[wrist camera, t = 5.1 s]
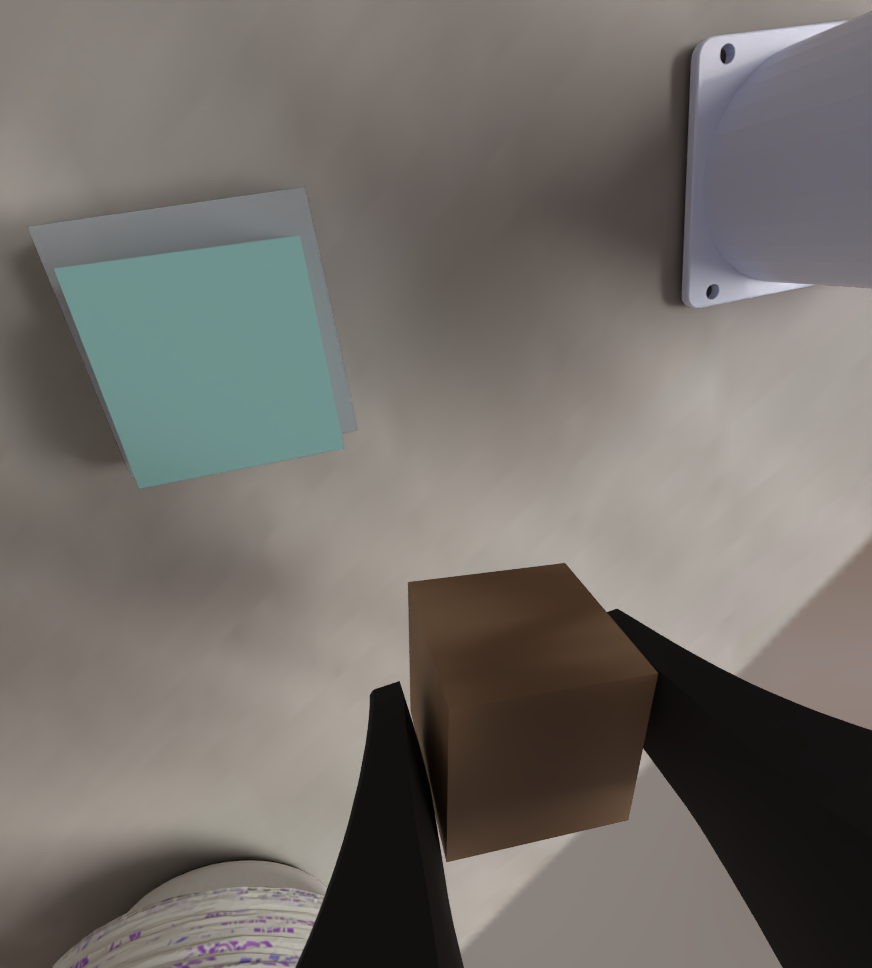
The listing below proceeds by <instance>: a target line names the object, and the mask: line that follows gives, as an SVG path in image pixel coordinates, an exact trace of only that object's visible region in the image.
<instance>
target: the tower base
mask: <svg viewBox="0 0 872 968" xmlns="http://www.w3.org/2000/svg"><path fill="white" fill-rule="evenodd" d="M27 228H28V230H29V232H30V235H31V237H32V240H33V242H34V245H35V247H36V249H37V252H38V254H39V257H40V259H41V261H42V264H43V266H44V269H45V271H46V273H47V276H48V278H49V281H50V283H51V285H52V288H53V290H54V293H55V295H56V298H57V300H58V302H59V305H60V307H61V310H62V312H63V314H64V317H65V319H66V322H67V324H68V326H69V329H70V331H71V334H72V336H73V339H74V341H75V343H76V346H77V348H78V351H79V353H80V355H81V358H82V360H83V363H84V365H85V367H86V370H87V372H88V375H89V377H90V380H91V382H92V384H93V387H94V389H95V392H96V394H97V396H98V399H99V401H100V404H101V406H102V408H103V411H104V413H105V416H106V418H107V421H108V423H109V425H110V428H111V430H112V433H113V435H114V437H115V440H116V442H117V445H118V447H119V449H120V452H121V454H122V457H123V459H124V462H125V464H126V466H127V469H128V471H129V474H130V476H131V478H135V477H134V474H133V472H132V469H131V466H130V464H129V461H128V459H127V456H126V453H125V451H124V448H123V446H122V443H121V441H120V438H119V435H118V433H117V430H116V428H115V425H114V423H113V420H112V417H111V415H110V412H109V410H108V407H107V405H106V402H105V399H104V397H103V394H102V392H101V389H100V387H99V384H98V381H97V379H96V376H95V374H94V371H93V368H92V366H91V363H90V361H89V358H88V356H87V353H86V350H85V348H84V345H83V343H82V340H81V338H80V335H79V332H78V330H77V327H76V325H75V322H74V320H73V317H72V314H71V312H70V309H69V307H68V304H67V301H66V299H65V296H64V294H63V291H62V289H61V286H60V283H59V281H58V278H57V276H56V273H55V271H54V269H55V268H62V267H69V266H77V265H84V264H92V263H99V262H107V261H114V260H122V259H129V258H136V257H144V256H151V255H159V254H166V253H174V252H181V251H189V250H196V249H203V248H211V247H218V246H226V245H233V244H241V243H248V242H256V241H263V240H270V239H278V238H285V237H293V236H300V238H301V243H302V248H303V253H304V258H305V262H306V267H307V272H308V277H309V281H310V286H311V291H312V296H313V300H314V305H315V310H316V315H317V319H318V324H319V329H320V334H321V339H322V343H323V348H324V353H325V358H326V362H327V367H328V372H329V377H330V381H331V386H332V391H333V396H334V401H335V405H336V410H337V415H338V420H339V424H340V429H341V434H342V433H347V432H352V431H357V430H358V428H357V424H356V419H355V414H354V410H353V405H352V401H351V396H350V391H349V387H348V382H347V378H346V373H345V368H344V364H343V359H342V355H341V350H340V345H339V341H338V336H337V332H336V327H335V323H334V318H333V313H332V309H331V304H330V300H329V295H328V290H327V286H326V281H325V277H324V272H323V267H322V263H321V258H320V254H319V249H318V244H317V240H316V235H315V231H314V226H313V221H312V217H311V212H310V208H309V203H308V198H307V194H306V189H305V187H300V188H293V189H286V190H280V191H273V192H266V193H259V194H252V195H245V196H238V197H231V198H224V199H217V200H210V201H203V202H196V203H189V204H182V205H175V206H168V207H161V208H154V209H147V210H140V211H133V212H126V213H119V214H112V215H105V216H98V217H91V218H84V219H77V220H70V221H63V222H56V223H49V224H42V225H36V226H29V227H27Z"/></svg>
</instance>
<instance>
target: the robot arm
mask: <svg viewBox="0 0 872 968" xmlns="http://www.w3.org/2000/svg"><path fill="white" fill-rule="evenodd" d="M722 48H723V49H724V50H725V52H726V60H725V63H724V64H723V63H722V61H721V60H720V52H721V49H722ZM710 285H711V287H712V291H711V294H710V295H709V297H707V295H706V291H707V289H708V287H709V286H710ZM814 285H828V286H844V287H860V288H872V11H871V12H868V13H866V14H864V15H861V16H859V17H856V18H854V19H852V20H843V21H835V22H826V23H818V24H809V25H801V26H792V27H784V28H775V29H767V30H758V31H750V32H742V33H733V34H725V35H716V36H711V37H709V38H707V39H705V40H703V41H701V42H700V43H699V44H698V45H697V46H696V47H695V49H694V51H693V53H692V59H691V76H690V101H689V126H688V151H687V176H686V201H685V226H684V251H683V276H682V301H683V303H684V305H685V306H687V307H689V308H703V307H708V306H713V305H718V304H723V303H728V302H733V301H738V300H743V299H749V298H754V297H759V296H764V295H769V294H774V293H779V292H784V291H789V290H794V289H799V288H804V287H809V286H814ZM607 613H608V614H609V616H610V617H611V618H612V619H613V620H614V622H615V623H616V624H617V625H618V626H619V627H620V629H621V630H622V631H623V632H624V633H625V635H626V636H627V637H628V638H629V639H630V640H631V642H632V643H633V644H634V645H635V646H636V648H637V649H638V650H639V651H640V652H641V653H642V655H643V656H644V657H645V658H646V659H647V661H648V662H649V663H650V664H651V665H652V666H653V668H654V669H655V670H656V671H657V672H658V677H657V682H656V687H655V692H654V696H653V701H652V706H651V711H650V716H649V721H648V726H647V731H646V736H645V740H644V745H643V748H644V750H645V751H646V753H647V754H648V755H649V757H650V758H651V759H652V761H653V762H654V763H655V765H656V766H657V767H658V769H659V770H660V772H661V773H662V774H663V776H664V777H665V778H666V780H667V781H668V782H669V784H670V785H671V786H672V788H673V789H674V790H675V792H676V793H677V795H678V796H679V797H680V799H681V800H682V801H683V803H684V804H685V805H686V807H687V808H688V810H689V811H690V813H691V814H692V816H693V817H694V818H695V820H696V822H697V823H698V825H699V826H700V827H701V829H702V831H703V833H704V834H705V835H706V837H707V839H708V841H709V842H710V844H711V846H712V847H713V849H714V850H715V852H716V854H717V855H718V857H719V859H720V860H721V862H722V864H723V865H724V867H725V869H726V870H727V872H728V874H729V875H730V877H731V879H732V880H733V882H734V884H735V885H736V887H737V889H738V890H739V892H740V894H741V896H742V897H743V899H744V901H745V902H746V904H747V906H748V908H749V909H750V911H751V913H752V914H753V916H754V918H755V920H756V921H757V923H758V925H759V927H760V928H761V930H762V932H763V934H764V935H765V937H766V939H767V941H768V942H769V944H770V946H771V948H772V949H773V951H774V953H775V955H776V957H777V958H778V960H779V962H780V964H781V965H782V967H783V968H872V730H869V729H866V728H863V727H859V726H856V725H854V724H851V723H848V722H845V721H843V720H840V719H837V718H834V717H831V716H828V715H826V714H823V713H820V712H817V711H815V710H812V709H810V708H807V707H804V706H802V705H799V704H797V703H794V702H792V701H790V700H787V699H785V698H783V697H780V696H778V695H776V694H773V693H771V692H769V691H766V690H764V689H762V688H760V687H757V686H755V685H753V684H751V683H749V682H747V681H745V680H743V679H741V678H739V677H737V676H735V675H733V674H731V673H729V672H727V671H725V670H723V669H721V668H719V667H717V666H715V665H713V664H711V663H709V662H707V661H706V660H704V659H702V658H700V657H699V656H697V655H695V654H693V653H691V652H690V651H688V650H686V649H684V648H682V647H681V646H679V645H677V644H675V643H674V642H672V641H670V640H669V639H667V638H665V637H664V636H662V635H660V634H659V633H657V632H655V631H654V630H652V629H650V628H649V627H647V626H645V625H644V624H642V623H640V622H639V621H637V620H635V619H634V618H632V617H631V616H629V615H627V614H625V613H624V612H622V611H620V610H619V609H615V610H612V611H609V612H607ZM295 968H464V967H463V962H462V958H461V954H460V950H459V946H458V941H457V937H456V933H455V929H454V925H453V920H452V915H451V910H450V904H449V899H448V893H447V887H446V881H445V875H444V868H443V862H442V856H441V849H440V843H439V837H438V830H437V824H436V818H435V811H434V805H433V799H432V793H431V787H430V783H429V779H428V776H427V772H426V768H425V764H424V760H423V756H422V752H421V748H420V744H419V741H418V738H417V735H416V732H415V728H414V725H413V722H412V719H411V716H410V713H409V710H408V706H407V703H406V700H405V697H404V694H403V691H402V688H401V684H400V681H399V682H396V683H393V684H390V685H387V686H384V687H381V688H378V689H375V690H373V691H372V693H371V694H370V710H369V722H368V730H367V738H366V745H365V750H364V756H363V761H362V767H361V772H360V777H359V782H358V786H357V790H356V794H355V798H354V802H353V807H352V811H351V815H350V819H349V822H348V826H347V830H346V833H345V837H344V840H343V843H342V847H341V850H340V853H339V856H338V859H337V862H336V865H335V868H334V871H333V874H332V877H331V880H330V883H329V885H328V888H327V891H326V894H325V896H324V899H323V902H322V904H321V907H320V910H319V913H318V915H317V918H316V920H315V923H314V925H313V928H312V930H311V933H310V935H309V937H308V940H307V942H306V944H305V947H304V949H303V951H302V953H301V956H300V958H299V960H298V962H297V965H296V967H295Z"/></svg>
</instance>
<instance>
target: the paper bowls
mask: <svg viewBox="0 0 872 968" xmlns="http://www.w3.org/2000/svg"><path fill="white" fill-rule="evenodd" d="M326 891H327V889H326V888H325V886H324V885H323V884H321V883H320V882H319V881H318V880H317V879H315V878H314V877H312V876H311V875H309V874H307V873H305V872H303V871H301V870H299V869H296V868H294V867H291V866H287V865H284V864H280V863H274V862H267V861H254V860H248V861H232V862H224V863H218V864H213V865H209V866H205V867H202V868H198V869H195V870H192V871H190V872H187V873H185V874H182V875H180V876H177V877H175V878H173V879H171V880H169V881H167V882H165V883H164V884H162V885H160V886H159V887H157V888H155V889H154V890H152V891H151V892H149V893H148V894H147V895H145V896H144V897H143V898H142V899H141V900H140V901H139V902H138V903H136V904H135V905H134V906H133V907H132V908H131V909H130V910H129V911H128V912H127V913H126V914H124V915H123V916H120V917H118V918H116V919H114V920H112V921H110V922H109V923H107V924H106V925H104V926H102V927H100V928H98V929H96V930H94V931H93V932H92V933H90V934H89V935H87V936H86V937H85V938H83V939H82V940H81V941H80V942H79V943H78V944H76V945H75V946H73V947H72V948H71V949H70V950H69V951H68V952H66V953H65V954H64V955H63V956H62V957H61V958H60V959H59V960H58V961H57V962H56V963H55V964H54V965H53V967H52V968H295V967H296V965H297V962H298V960H299V958H300V956H301V953H302V951H303V949H304V947H305V944H306V942H307V940H308V937H309V935H310V933H311V930H312V928H313V925H314V923H315V920H316V918H317V915H318V913H319V910H320V907H321V904H322V902H323V899H324V896H325V894H326Z"/></svg>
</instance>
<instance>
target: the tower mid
mask: <svg viewBox="0 0 872 968" xmlns="http://www.w3.org/2000/svg"><path fill="white" fill-rule="evenodd" d="M54 271H55V273H56V276H57V278H58V281H59V283H60V286H61V289H62V291H63V294H64V296H65V299H66V301H67V304H68V307H69V309H70V312H71V314H72V317H73V320H74V322H75V325H76V327H77V330H78V332H79V335H80V338H81V340H82V343H83V345H84V348H85V350H86V353H87V356H88V358H89V361H90V363H91V366H92V368H93V371H94V374H95V376H96V379H97V381H98V384H99V387H100V389H101V392H102V394H103V397H104V399H105V402H106V405H107V407H108V410H109V412H110V415H111V417H112V420H113V423H114V425H115V428H116V430H117V433H118V435H119V438H120V441H121V443H122V446H123V448H124V451H125V453H126V456H127V459H128V461H129V464H130V466H131V469H132V472H133V474H134V477H135V479H136V482H137V484H138V487H139V489H142V488H147V487H152V486H157V485H162V484H167V483H172V482H177V481H182V480H187V479H192V478H197V477H202V476H207V475H212V474H218V473H223V472H228V471H233V470H238V469H243V468H248V467H253V466H258V465H263V464H268V463H273V462H278V461H283V460H288V459H294V458H299V457H304V456H309V455H314V454H319V453H324V452H329V451H334V450H339V449H344V443H343V439H342V434H341V429H340V424H339V420H338V415H337V410H336V405H335V401H334V396H333V391H332V386H331V381H330V377H329V372H328V367H327V362H326V358H325V353H324V348H323V343H322V339H321V334H320V329H319V324H318V319H317V315H316V310H315V305H314V300H313V296H312V291H311V286H310V281H309V277H308V272H307V267H306V262H305V258H304V253H303V248H302V243H301V238H300V236H293V237H285V238H278V239H270V240H263V241H256V242H248V243H241V244H233V245H226V246H218V247H211V248H203V249H196V250H189V251H181V252H174V253H166V254H159V255H151V256H144V257H136V258H129V259H122V260H114V261H107V262H99V263H92V264H84V265H77V266H69V267H62V268H55V269H54Z"/></svg>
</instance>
